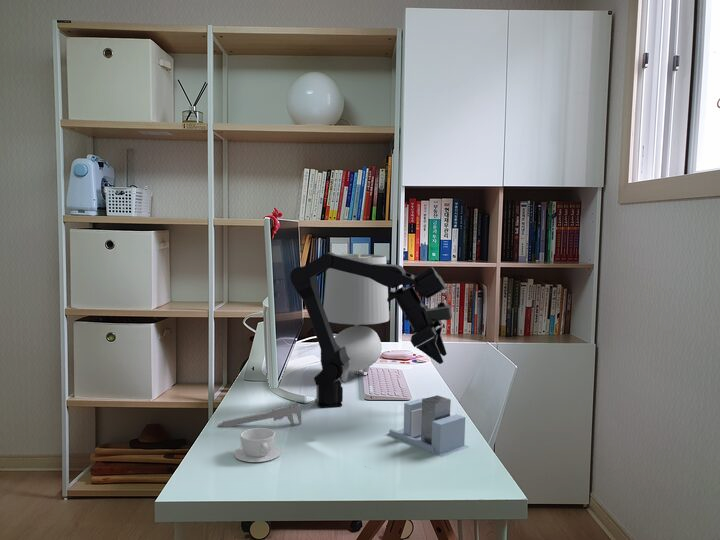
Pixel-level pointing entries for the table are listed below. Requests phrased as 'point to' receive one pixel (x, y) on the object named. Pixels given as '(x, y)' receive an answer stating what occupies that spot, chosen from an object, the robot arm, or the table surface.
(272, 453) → the teacup
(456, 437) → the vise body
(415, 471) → the table surface
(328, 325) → the robot arm
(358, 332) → the table lamp
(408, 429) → the free jaw
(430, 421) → the block
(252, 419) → the caliper
